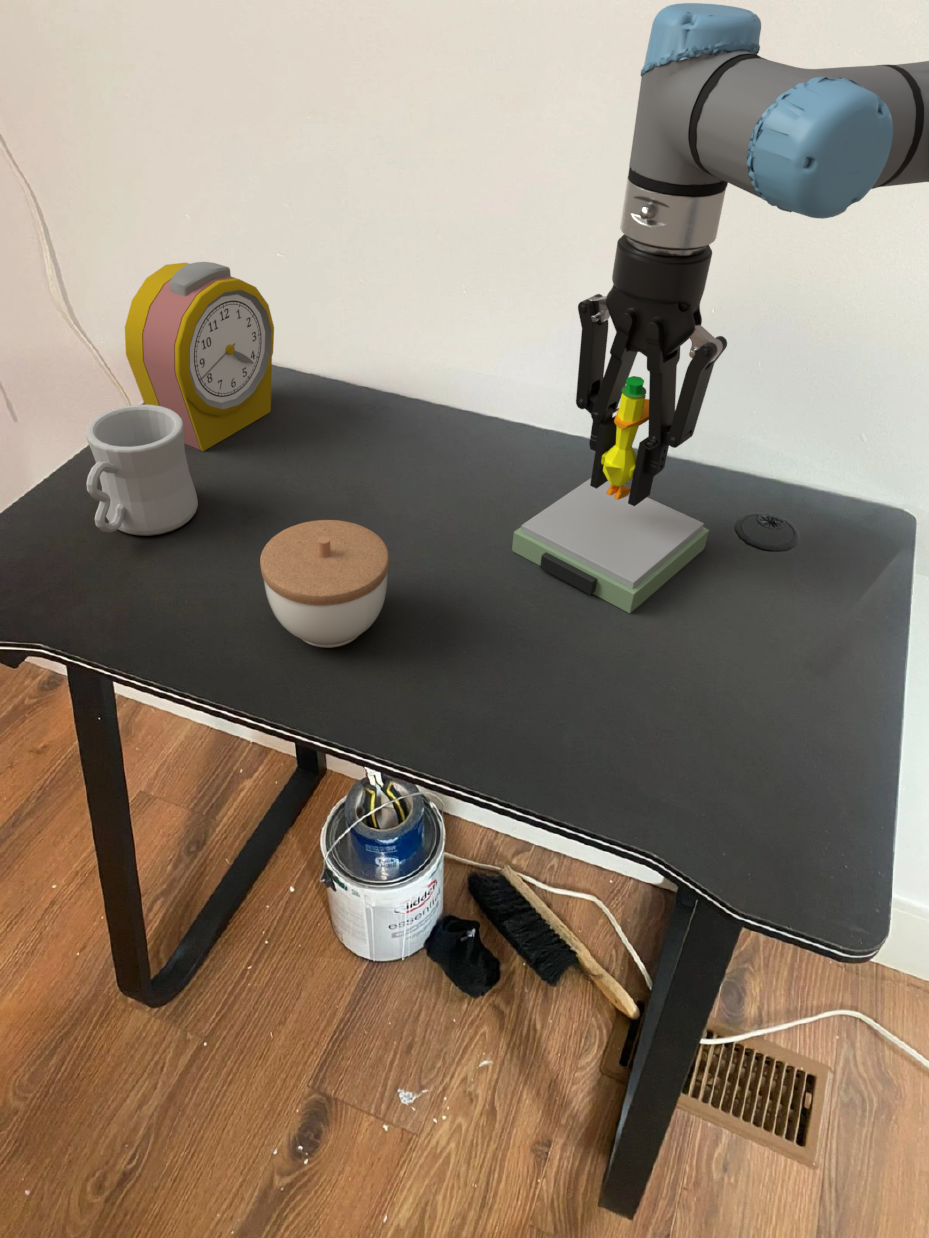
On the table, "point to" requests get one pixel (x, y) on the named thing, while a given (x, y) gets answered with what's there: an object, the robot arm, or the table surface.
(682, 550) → the kitchen scale
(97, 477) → the mug
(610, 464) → the toy figure
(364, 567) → the trinket box
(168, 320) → the alarm clock
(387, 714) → the table surface
